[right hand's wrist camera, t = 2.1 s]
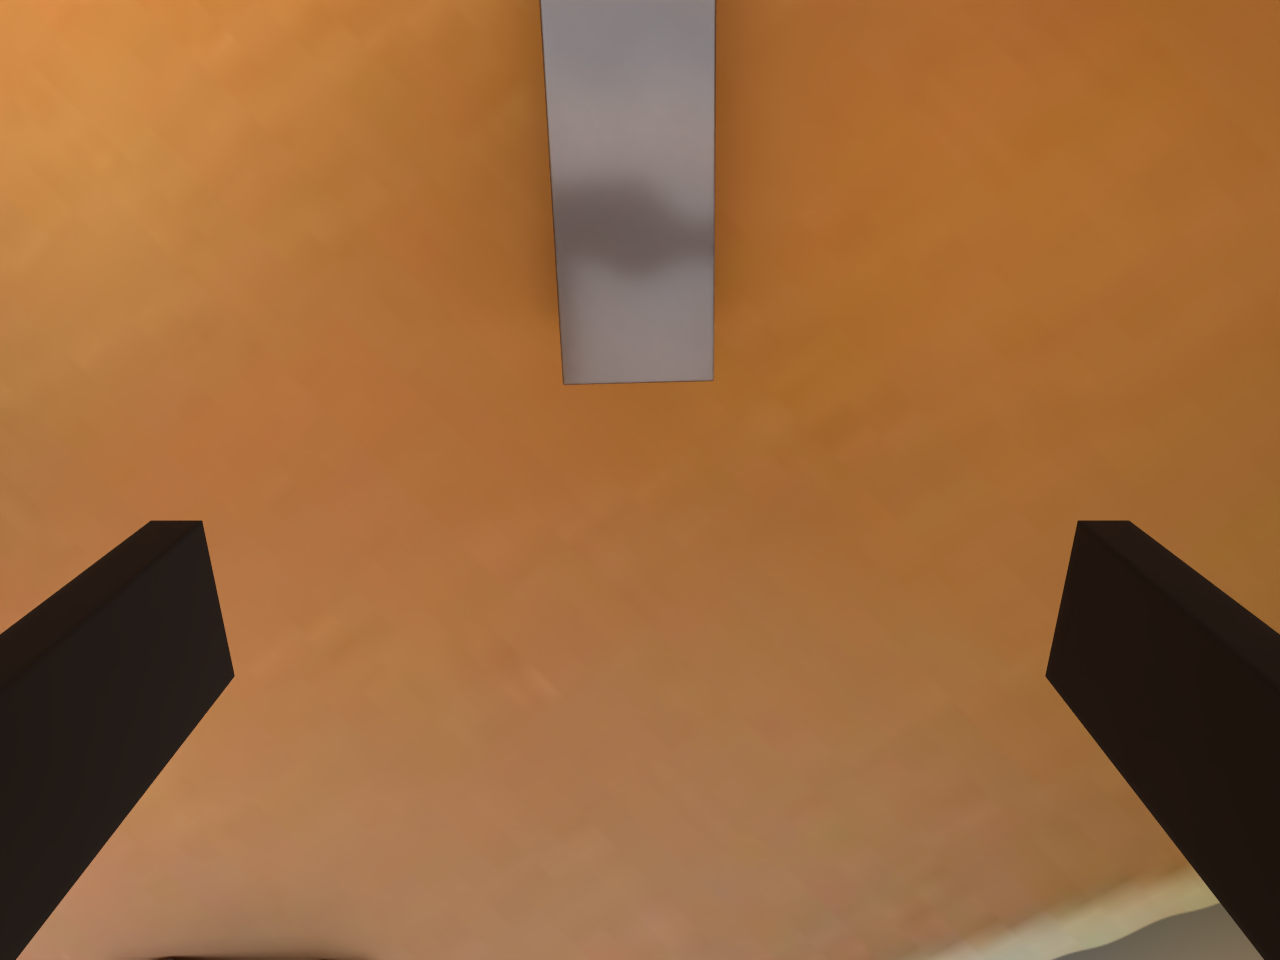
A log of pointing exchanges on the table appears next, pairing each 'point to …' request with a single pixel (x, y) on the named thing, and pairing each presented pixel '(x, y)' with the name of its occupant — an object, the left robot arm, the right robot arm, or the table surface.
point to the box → (632, 186)
